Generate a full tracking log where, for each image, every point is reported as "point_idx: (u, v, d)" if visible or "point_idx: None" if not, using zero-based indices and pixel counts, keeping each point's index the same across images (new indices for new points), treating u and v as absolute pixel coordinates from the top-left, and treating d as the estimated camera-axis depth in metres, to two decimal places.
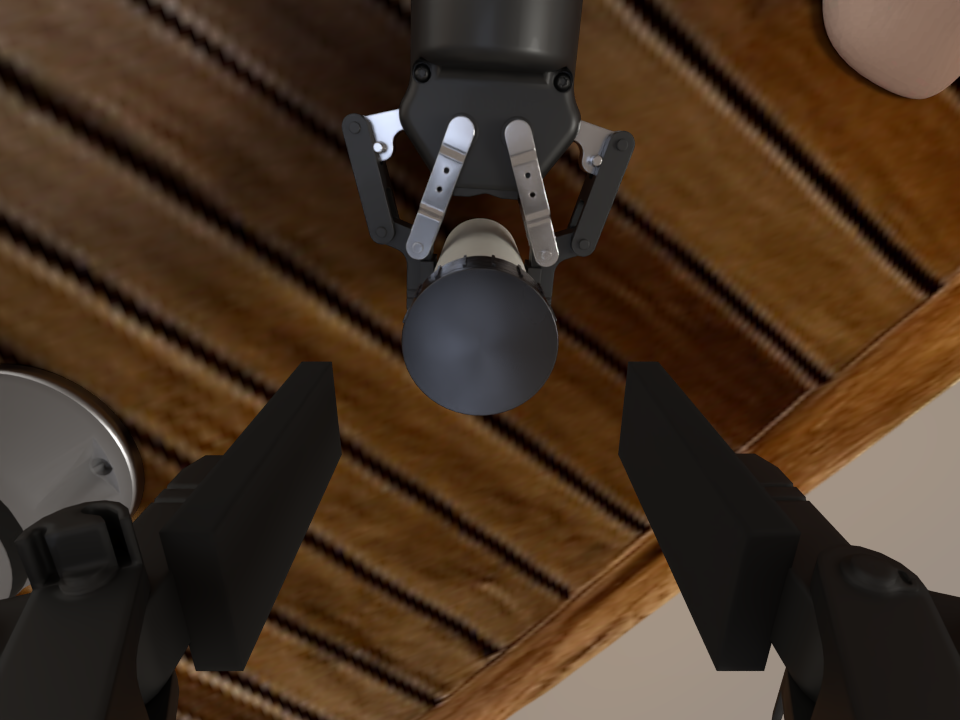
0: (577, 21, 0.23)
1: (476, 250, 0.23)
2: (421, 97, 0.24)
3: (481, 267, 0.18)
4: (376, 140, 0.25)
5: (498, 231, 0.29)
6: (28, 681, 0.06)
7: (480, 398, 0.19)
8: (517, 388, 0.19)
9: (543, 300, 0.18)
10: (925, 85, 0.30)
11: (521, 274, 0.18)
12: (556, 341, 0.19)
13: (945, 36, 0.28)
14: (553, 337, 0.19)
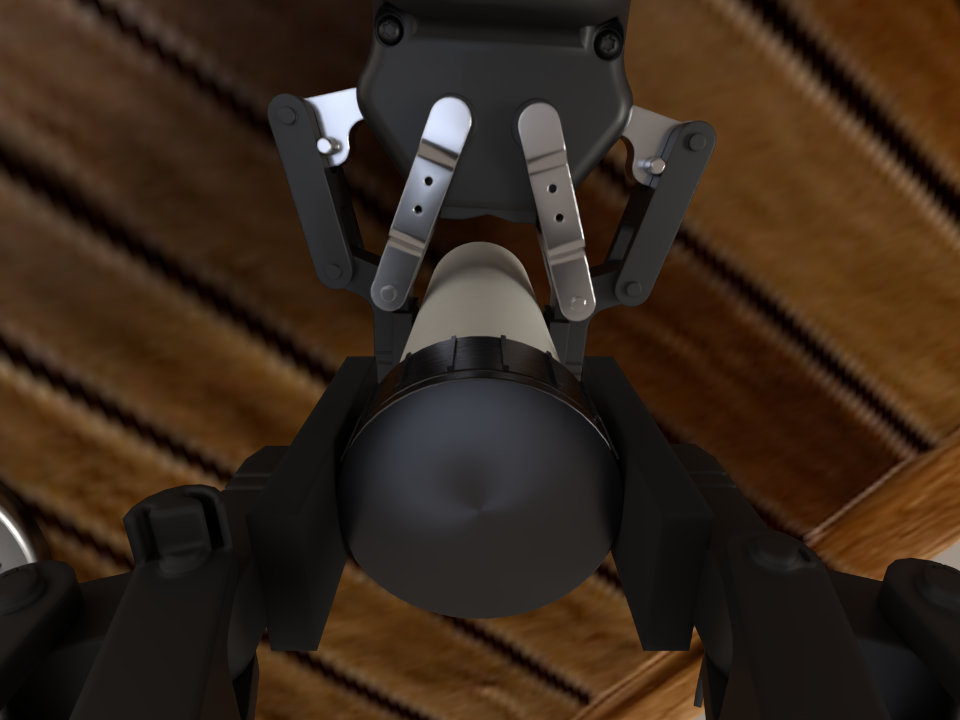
0: None
1: (474, 310, 0.14)
2: (389, 68, 0.16)
3: (482, 375, 0.09)
4: (323, 135, 0.17)
5: (505, 264, 0.21)
6: (133, 653, 0.06)
7: (480, 593, 0.11)
8: (547, 577, 0.11)
9: (599, 434, 0.10)
10: None
11: (557, 383, 0.10)
12: (621, 503, 0.10)
13: None
14: (615, 496, 0.10)
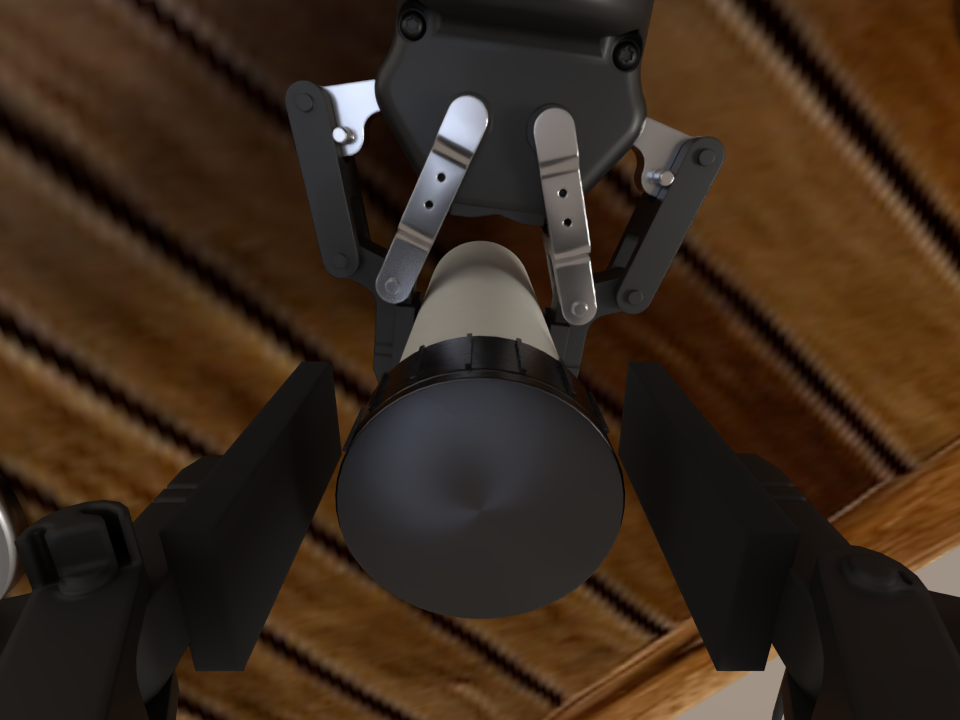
0: None
1: (480, 308, 0.14)
2: (409, 63, 0.16)
3: (355, 435, 0.10)
4: (339, 124, 0.17)
5: (509, 265, 0.21)
6: (27, 681, 0.06)
7: (566, 556, 0.10)
8: (591, 499, 0.10)
9: (469, 379, 0.09)
10: None
11: (412, 377, 0.10)
12: (556, 399, 0.09)
13: None
14: (545, 400, 0.09)
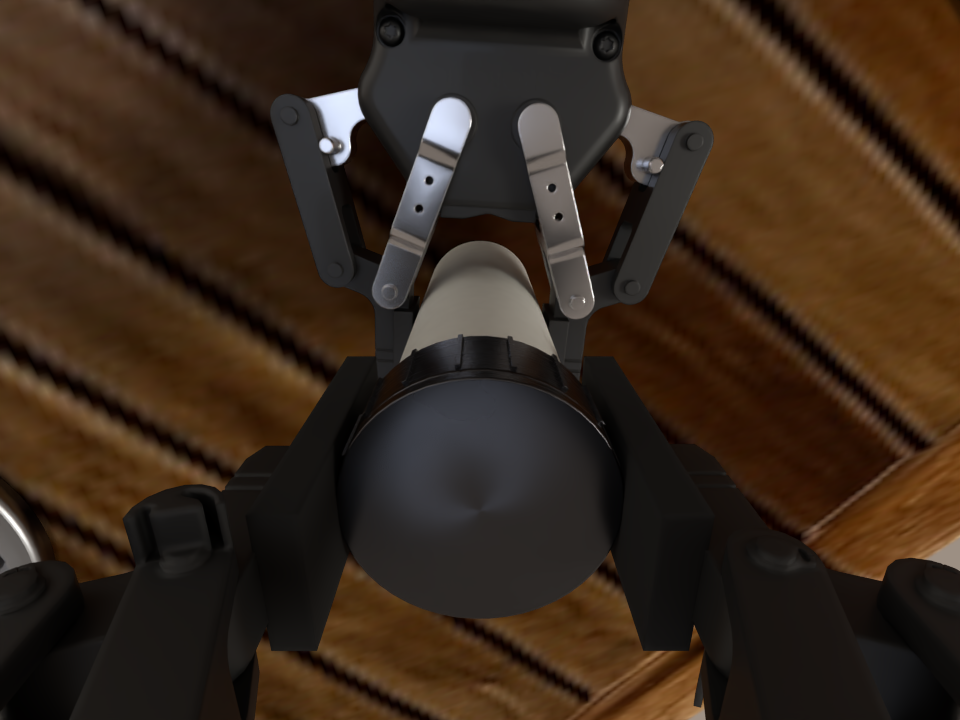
0: None
1: (474, 308, 0.14)
2: (390, 69, 0.16)
3: (351, 442, 0.10)
4: (325, 135, 0.17)
5: (505, 263, 0.21)
6: (133, 652, 0.06)
7: (570, 552, 0.10)
8: (590, 493, 0.10)
9: (459, 380, 0.09)
10: None
11: (403, 382, 0.10)
12: (547, 395, 0.09)
13: None
14: (536, 397, 0.09)
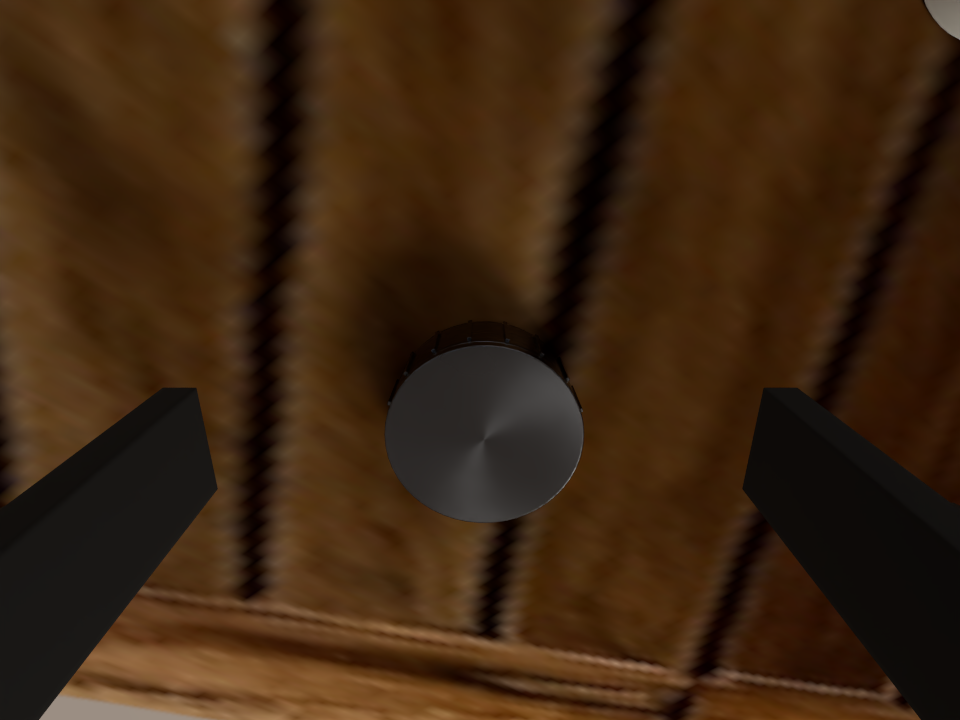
0: None
1: None
2: None
3: (396, 391, 0.14)
4: None
5: None
6: None
7: (547, 471, 0.15)
8: (560, 427, 0.15)
9: (470, 347, 0.14)
10: None
11: (432, 350, 0.14)
12: (529, 357, 0.14)
13: None
14: (522, 358, 0.14)
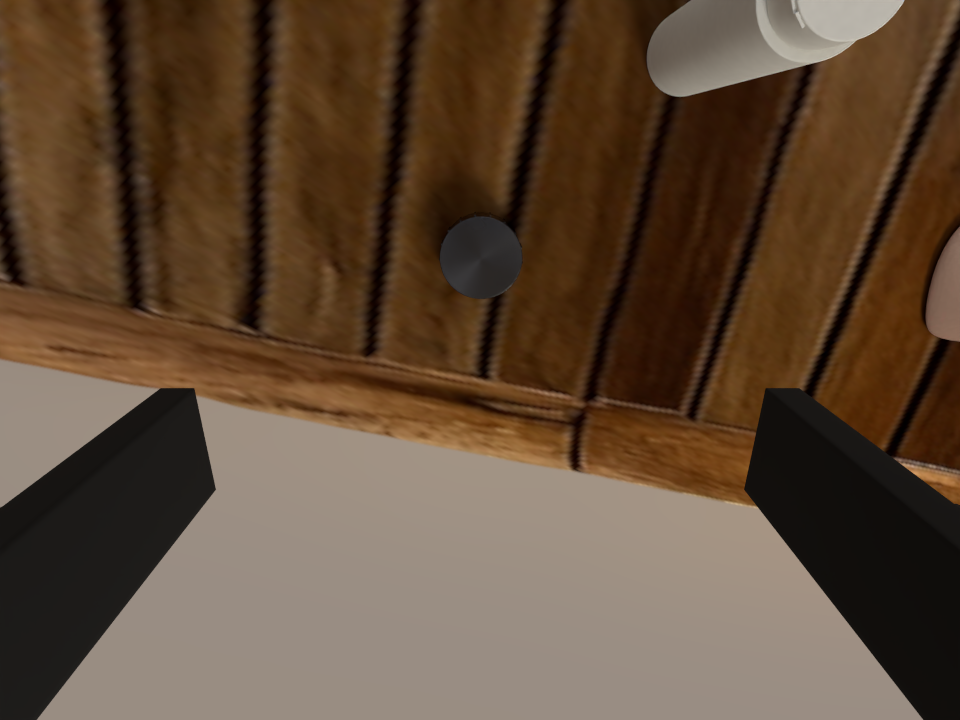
0: None
1: None
2: None
3: (445, 237, 0.35)
4: None
5: None
6: None
7: (507, 273, 0.36)
8: (512, 252, 0.35)
9: (475, 217, 0.35)
10: (941, 321, 0.39)
11: (459, 220, 0.35)
12: (498, 221, 0.35)
13: None
14: (496, 222, 0.35)
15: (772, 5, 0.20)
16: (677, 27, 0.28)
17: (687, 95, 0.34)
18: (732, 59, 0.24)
